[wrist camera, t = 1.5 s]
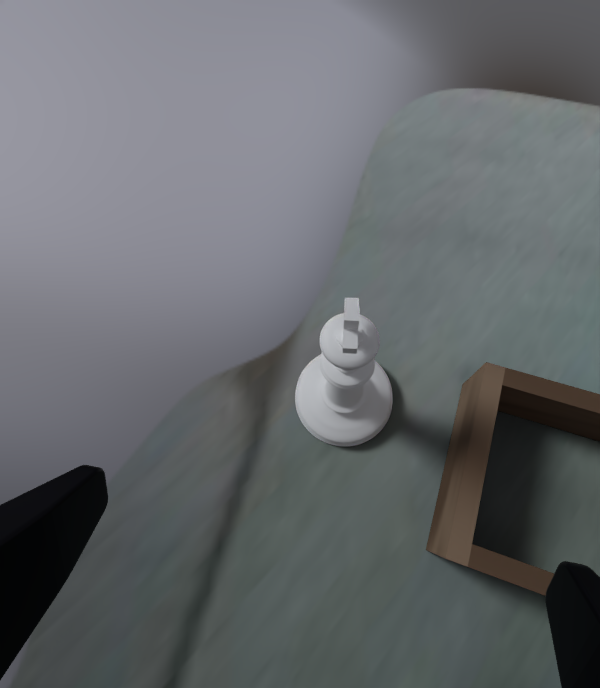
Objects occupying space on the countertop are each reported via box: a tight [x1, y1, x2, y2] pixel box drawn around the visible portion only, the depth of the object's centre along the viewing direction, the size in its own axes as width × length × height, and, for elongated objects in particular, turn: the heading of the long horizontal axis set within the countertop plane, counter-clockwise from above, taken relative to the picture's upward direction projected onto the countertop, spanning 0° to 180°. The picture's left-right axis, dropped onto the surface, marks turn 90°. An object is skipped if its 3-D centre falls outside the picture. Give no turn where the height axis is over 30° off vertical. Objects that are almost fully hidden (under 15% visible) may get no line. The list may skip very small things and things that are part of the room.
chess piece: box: [295, 298, 393, 446], centre depth 17 cm, size 5×5×10 cm
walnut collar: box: [426, 362, 600, 596], centre depth 18 cm, size 8×8×4 cm
